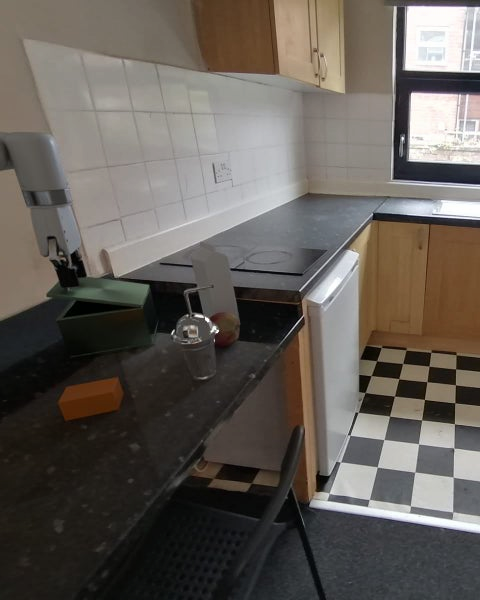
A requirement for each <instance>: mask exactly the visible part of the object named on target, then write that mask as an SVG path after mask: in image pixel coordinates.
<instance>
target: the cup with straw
mask: <svg viewBox="0 0 480 600" xmlns="http://www.w3.org/2000/svg"><path fill="white" fill-rule="evenodd" d="M211 288H214V287H213V285H207V286H202V287H197V286H196V287H193V288H187V289H185V290H184V291H183V297H184V298H183V299H184V302H185V307H186V311H187V314H184V315H183V316H182V317H180V318H179V319H178V320H177V322H176V323H175V326H174V329H173V330H172V332H171V333H170V336H171V337H170V339H171V341H172V342H173V343H175V344H177V346H178V347H179V350H180V351H181V352H182V355H183V357H184V360H185V362H186V364H187V367H188V369H189V372H190V374H191V375H192V379H193V380H194V381H196V382H202V381H203V382H204V381H208V380H210V379H213V378H214V377H215V376H216V375H217V373H218V370H217V358H216V357H217V356H216V346H215V335H216V334H217V332H218V330H219V329H218V327H217V324H216V323H214V322H212V321H211V320H210V319H209V318H208V317H207V316H205V315H204V314H203V313H201V312H200V313H199V312H193V311H192V306H191V303H190V299H189V294H191V293H195V292H198V291H201V290H206V289H211Z"/></svg>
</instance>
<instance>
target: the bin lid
mask: <svg viewBox="0 0 480 600" xmlns="http://www.w3.org/2000/svg"><path fill="white" fill-rule="evenodd" d="M72 267H73V268H75V270H76V271H77V270H78V269H79V267H78V265H77V264H75V263H72ZM78 280H79V283H80V285H79V286H77V287H67V288H62V287H61V286H60V283H59V280H58V281H57V282H56V284H54V285H53V286H52V288H50V289H49V291H48V292H46V294H45V297H46V298H49V299H50V298H51V299H57V300H67V301H68V300H69V301H71V300H76V301H85V302H94V303H103V304H112V305H122V306H131V307H140V308H141V307H142V305H143V302H144V300H145V297H146V294H147V292H148V289H149V288H150V284H146V283H138V282H132V281H131V282H130V281H123V280H116V279H109V278H101V277H93V276H86V277H85V278H78Z"/></svg>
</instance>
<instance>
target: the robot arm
mask: <svg viewBox="0 0 480 600" xmlns="http://www.w3.org/2000/svg"><path fill="white" fill-rule="evenodd" d="M61 156H62V155H61V153H60V149H59V145H58V143H57V140H56V138H55V137H54V136H53V134H50V133H47V132H43V131H42V132H40V131H13V132H5V131H0V172H3V171H9V170H14V173H15V176H16V179H17V183H18V185H19V188H20V190H21V194H22V197H23V199H24V203H25V206H26V208H27V209H29V211H30V219H31V224H32V228H33V232H34V236H35V240H36V243H37V247H38V251H39V253H40V256H42V257H43V258H48V261H49V262H50V263H51V264H52V265H53V269H54V271H55V274H56V276H57V279H58V281H59V283H60V286H61V287H62V288H67V287H77V286H79V285H80V283H79V280H78V278H85V277H88V274H87V271H86V267H85V263H84V260H83V256H82V254H81V250H80V247H81V245H82V238H81V234H80V230H79V227H78V224H77V220H76V218H75V215H74V213H73V209H72V207H71V206H73V205H75V202H74V201H75V200H74V198H73V195H72V191H71V187H70V184H69V181H68V177H67V173H66V170H65V167H64V164H63V160H62V157H61ZM60 253H62V254H60ZM72 263H75V264H77V265H78V267H79V269H78V270H77V271H76V270H75V268H73V267H72Z"/></svg>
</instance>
